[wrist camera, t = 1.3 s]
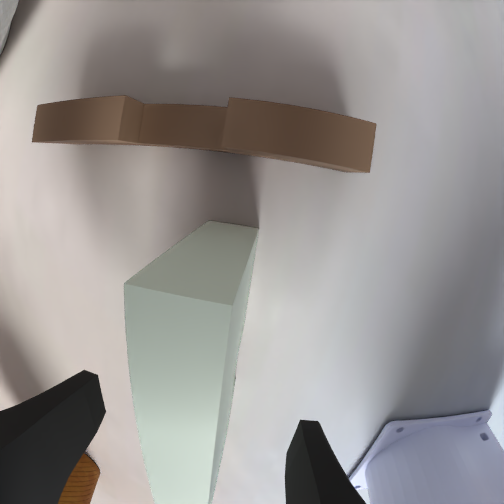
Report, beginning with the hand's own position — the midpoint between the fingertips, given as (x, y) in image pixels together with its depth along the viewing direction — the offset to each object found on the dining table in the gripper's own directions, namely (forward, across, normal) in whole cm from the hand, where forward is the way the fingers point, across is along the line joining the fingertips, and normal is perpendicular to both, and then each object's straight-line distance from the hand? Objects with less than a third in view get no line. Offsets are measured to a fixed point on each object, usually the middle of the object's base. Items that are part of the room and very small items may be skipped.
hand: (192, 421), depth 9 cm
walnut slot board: (+5, +2, -9) cm, 11 cm away
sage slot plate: (+5, 0, 0) cm, 5 cm away
